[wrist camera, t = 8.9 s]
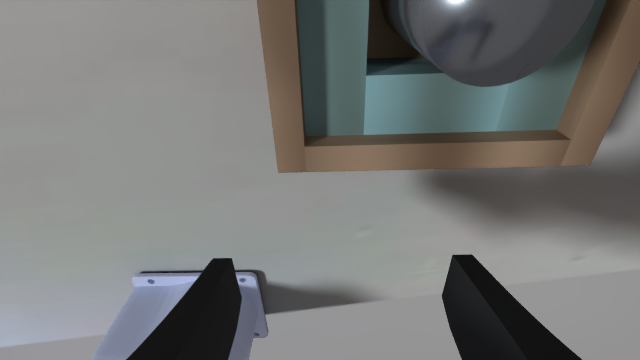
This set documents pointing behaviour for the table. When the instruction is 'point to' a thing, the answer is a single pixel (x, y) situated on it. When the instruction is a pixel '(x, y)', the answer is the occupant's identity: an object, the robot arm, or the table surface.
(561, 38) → the peg
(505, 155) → the bore box
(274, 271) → the table surface
